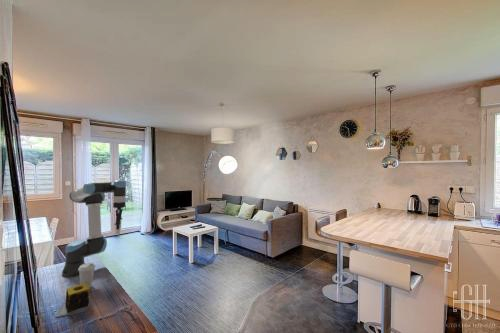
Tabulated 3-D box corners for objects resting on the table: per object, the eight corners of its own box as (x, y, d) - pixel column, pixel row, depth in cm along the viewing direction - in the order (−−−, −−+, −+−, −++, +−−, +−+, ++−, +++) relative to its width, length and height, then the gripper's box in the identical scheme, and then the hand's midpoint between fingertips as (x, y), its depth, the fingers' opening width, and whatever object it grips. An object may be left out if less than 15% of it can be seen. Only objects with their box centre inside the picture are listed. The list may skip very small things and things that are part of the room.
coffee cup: (85, 291, 149) (86, 269, 149) (73, 289, 151) (74, 267, 151) (98, 284, 159) (98, 263, 159) (86, 282, 161) (87, 261, 161)
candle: (67, 313, 126) (68, 295, 127) (64, 305, 134) (65, 288, 134) (89, 305, 134) (89, 288, 134) (85, 298, 141) (86, 282, 141)
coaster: (62, 303, 136) (62, 302, 136) (90, 298, 142) (90, 297, 142) (55, 318, 123) (55, 316, 123) (86, 311, 130) (86, 310, 130)
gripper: (114, 199, 172) (113, 227, 172) (111, 204, 150) (110, 236, 150) (125, 199, 176) (124, 226, 175) (124, 204, 153) (123, 235, 153)
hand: (118, 231), depth 163 cm, fingers open, 13 cm apart
